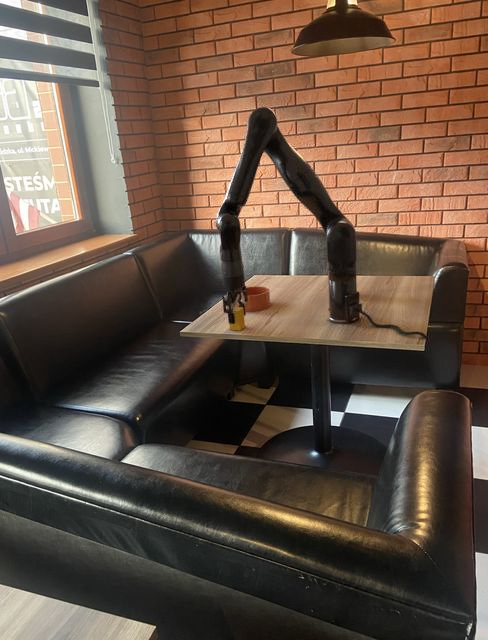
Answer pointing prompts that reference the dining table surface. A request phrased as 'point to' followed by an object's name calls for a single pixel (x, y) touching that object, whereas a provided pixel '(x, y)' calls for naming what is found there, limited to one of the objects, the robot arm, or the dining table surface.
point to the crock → (257, 298)
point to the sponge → (238, 319)
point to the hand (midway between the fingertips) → (237, 319)
